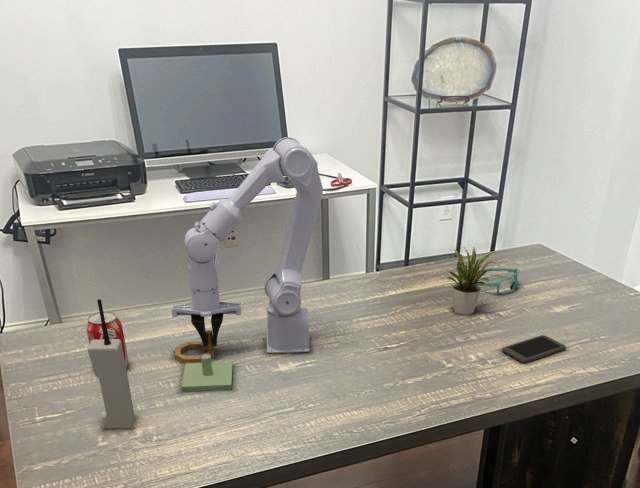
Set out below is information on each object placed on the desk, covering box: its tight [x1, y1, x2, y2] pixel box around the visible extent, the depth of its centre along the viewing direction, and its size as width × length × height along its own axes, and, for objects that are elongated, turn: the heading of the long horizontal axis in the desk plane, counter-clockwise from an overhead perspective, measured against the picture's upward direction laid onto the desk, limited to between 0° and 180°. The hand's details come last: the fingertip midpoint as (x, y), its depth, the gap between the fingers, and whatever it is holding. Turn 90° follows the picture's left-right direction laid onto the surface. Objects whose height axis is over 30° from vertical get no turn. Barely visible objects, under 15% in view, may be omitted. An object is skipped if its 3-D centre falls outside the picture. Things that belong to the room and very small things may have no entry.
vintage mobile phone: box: [86, 298, 136, 430], centre depth 120 cm, size 4×5×25 cm
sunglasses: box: [476, 267, 521, 295], centre depth 189 cm, size 14×15×5 cm
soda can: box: [85, 310, 129, 368], centre depth 142 cm, size 7×7×12 cm
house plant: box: [444, 247, 500, 316], centre depth 170 cm, size 14×14×16 cm
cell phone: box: [501, 334, 566, 364], centre depth 156 cm, size 7×14×1 cm, turn 123°
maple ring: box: [174, 329, 215, 365], centre depth 150 cm, size 8×8×6 cm
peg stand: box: [180, 353, 234, 392], centre depth 141 cm, size 10×10×5 cm
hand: (210, 344), depth 150 cm, fingers closed
